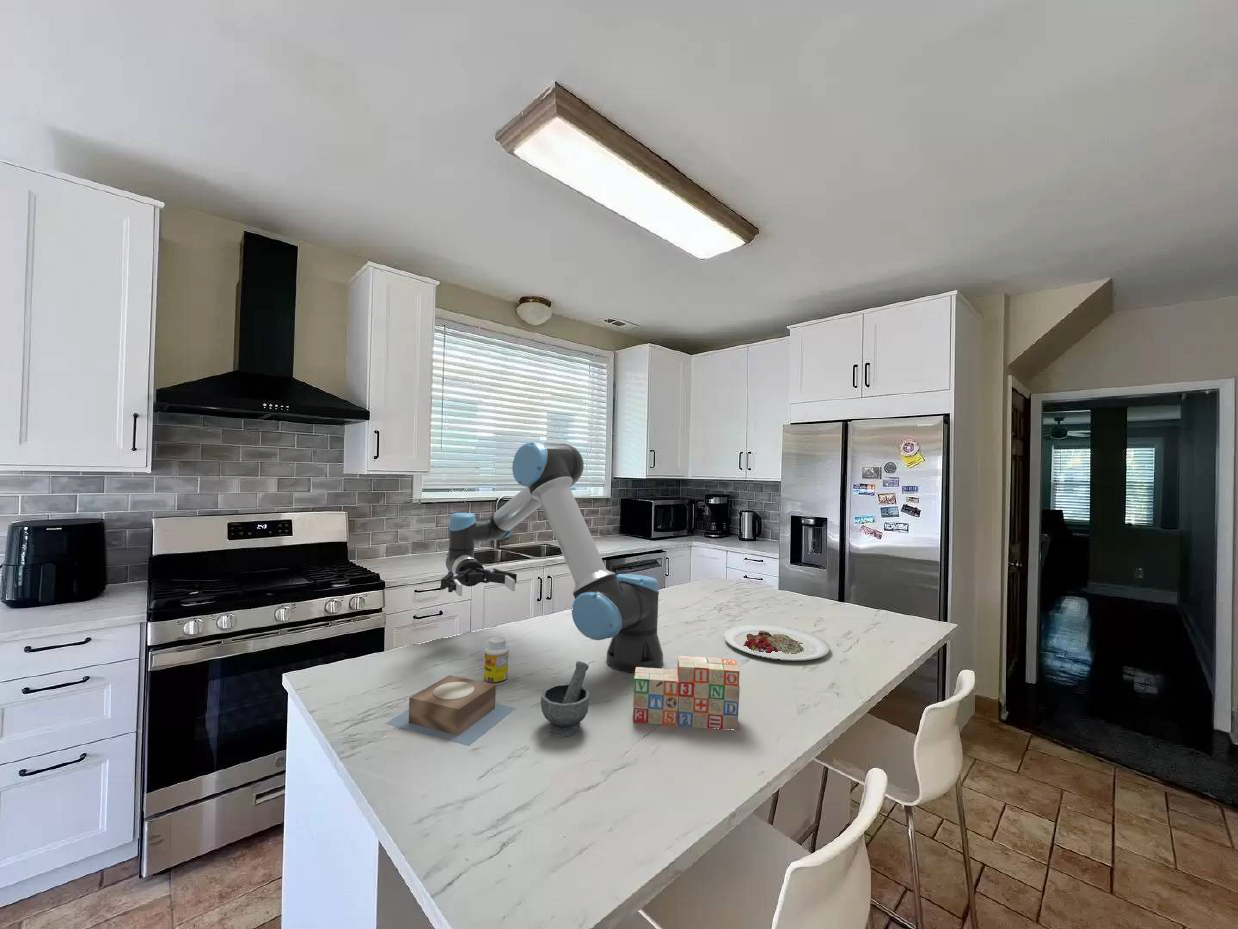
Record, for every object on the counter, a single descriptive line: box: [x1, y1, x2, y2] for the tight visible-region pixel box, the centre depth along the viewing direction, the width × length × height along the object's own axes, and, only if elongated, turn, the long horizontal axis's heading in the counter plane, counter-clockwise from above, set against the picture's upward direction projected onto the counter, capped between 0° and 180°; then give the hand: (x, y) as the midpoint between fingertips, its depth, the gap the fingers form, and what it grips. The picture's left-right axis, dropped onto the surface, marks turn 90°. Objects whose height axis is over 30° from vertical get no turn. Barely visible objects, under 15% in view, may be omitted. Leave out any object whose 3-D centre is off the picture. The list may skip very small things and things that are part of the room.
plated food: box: [723, 624, 831, 661], centre depth 154 cm, size 30×30×3 cm
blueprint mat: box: [384, 702, 517, 746], centre depth 106 cm, size 20×16×1 cm
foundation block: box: [408, 674, 497, 736], centre depth 106 cm, size 12×12×5 cm
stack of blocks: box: [632, 655, 741, 731], centre depth 108 cm, size 21×6×12 cm, turn 84°
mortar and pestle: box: [540, 660, 591, 738], centre depth 103 cm, size 11×9×12 cm
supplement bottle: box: [483, 636, 510, 686], centre depth 123 cm, size 6×6×10 cm
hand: (487, 588), depth 132 cm, fingers open, 13 cm apart
